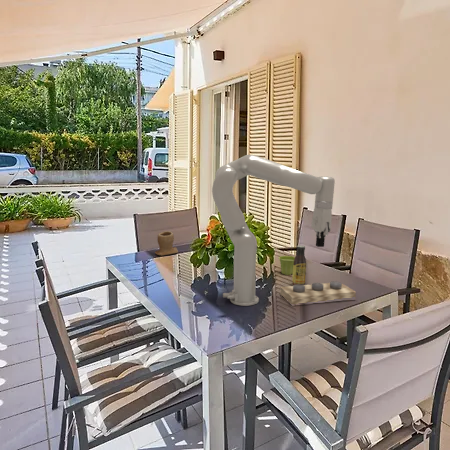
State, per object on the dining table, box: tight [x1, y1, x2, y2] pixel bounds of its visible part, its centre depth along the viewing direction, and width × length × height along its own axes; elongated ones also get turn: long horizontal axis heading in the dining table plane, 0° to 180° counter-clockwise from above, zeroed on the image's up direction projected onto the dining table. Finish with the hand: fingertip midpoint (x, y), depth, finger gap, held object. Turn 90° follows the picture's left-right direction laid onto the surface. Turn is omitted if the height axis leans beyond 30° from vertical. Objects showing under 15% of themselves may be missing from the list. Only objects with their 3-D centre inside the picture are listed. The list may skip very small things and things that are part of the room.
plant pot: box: [278, 255, 296, 276], centre depth 219 cm, size 9×9×9 cm
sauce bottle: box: [291, 245, 307, 286], centre depth 198 cm, size 6×6×20 cm
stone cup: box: [154, 230, 179, 257], centre depth 259 cm, size 15×12×15 cm
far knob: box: [329, 280, 343, 289], centre depth 184 cm, size 5×5×6 cm
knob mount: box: [279, 282, 357, 304], centre depth 182 cm, size 30×14×4 cm, turn 103°
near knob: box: [292, 284, 305, 293], centre depth 180 cm, size 5×5×6 cm
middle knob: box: [311, 282, 324, 291], centre depth 182 cm, size 5×5×6 cm
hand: (319, 246), depth 179 cm, fingers closed
